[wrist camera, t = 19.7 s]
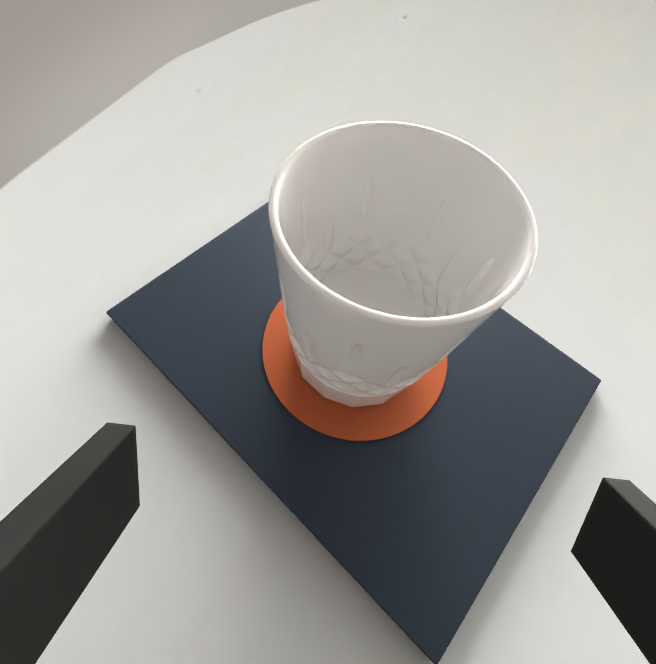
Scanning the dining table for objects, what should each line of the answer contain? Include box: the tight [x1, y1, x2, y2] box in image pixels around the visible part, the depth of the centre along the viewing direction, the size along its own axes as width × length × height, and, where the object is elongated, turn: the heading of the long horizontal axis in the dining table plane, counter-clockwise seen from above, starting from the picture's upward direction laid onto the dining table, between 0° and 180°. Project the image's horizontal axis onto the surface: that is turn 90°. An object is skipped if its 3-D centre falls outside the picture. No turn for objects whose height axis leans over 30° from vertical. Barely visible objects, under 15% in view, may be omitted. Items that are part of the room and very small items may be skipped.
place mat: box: [107, 202, 601, 664], centre depth 20 cm, size 22×16×1 cm
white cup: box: [268, 121, 538, 407], centre depth 15 cm, size 8×8×10 cm
